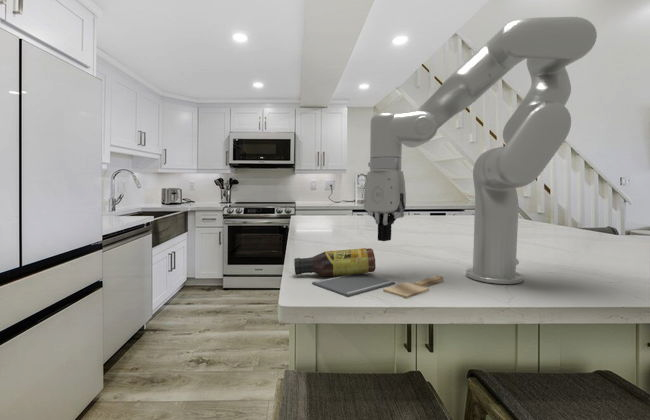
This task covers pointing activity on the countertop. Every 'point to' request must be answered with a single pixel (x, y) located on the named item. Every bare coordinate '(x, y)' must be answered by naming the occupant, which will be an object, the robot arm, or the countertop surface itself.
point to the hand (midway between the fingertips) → (384, 240)
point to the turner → (413, 287)
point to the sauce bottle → (337, 262)
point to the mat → (353, 284)
